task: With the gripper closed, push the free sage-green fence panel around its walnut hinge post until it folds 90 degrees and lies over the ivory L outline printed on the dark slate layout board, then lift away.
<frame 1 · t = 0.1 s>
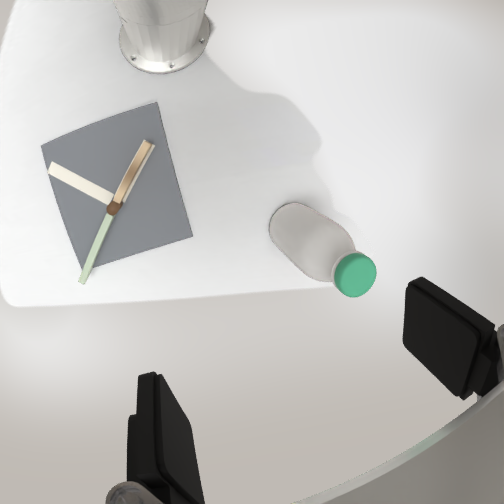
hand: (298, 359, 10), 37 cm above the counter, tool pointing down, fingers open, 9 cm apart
fence hinged panel: (96, 246, 40), point 2 cm above the counter, hinge at 0.0°
milk bottle: (291, 226, 49), on the counter
layout board: (113, 189, 41), on the counter
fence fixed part: (118, 202, 41), resting on layout board
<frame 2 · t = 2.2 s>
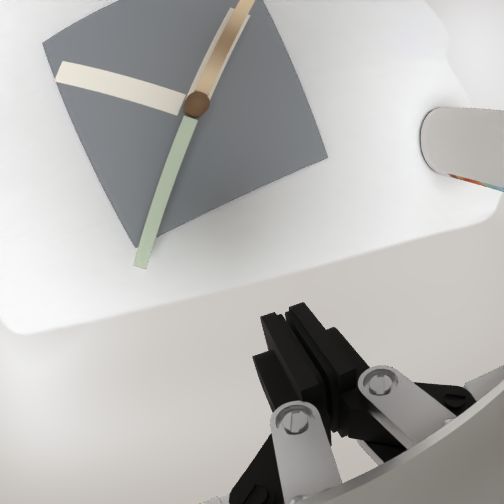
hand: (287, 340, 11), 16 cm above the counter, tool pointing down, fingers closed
fence hinged panel: (162, 191, 22), point 2 cm above the counter, hinge at 0.0°
milk bottle: (439, 140, 29), on the counter
layout board: (183, 88, 22), on the counter
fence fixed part: (193, 109, 22), resting on layout board
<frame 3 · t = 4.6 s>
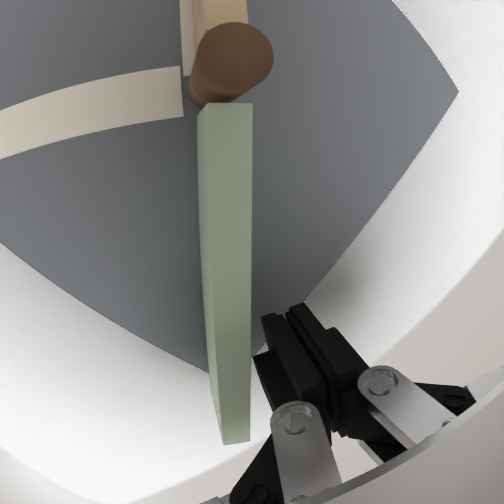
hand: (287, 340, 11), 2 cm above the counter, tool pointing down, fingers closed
fence hinged panel: (222, 296, 10), point 2 cm above the counter, hinge at -5.1°, touching gripper
layout board: (166, 57, 9), on the counter
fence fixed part: (210, 89, 10), resting on layout board
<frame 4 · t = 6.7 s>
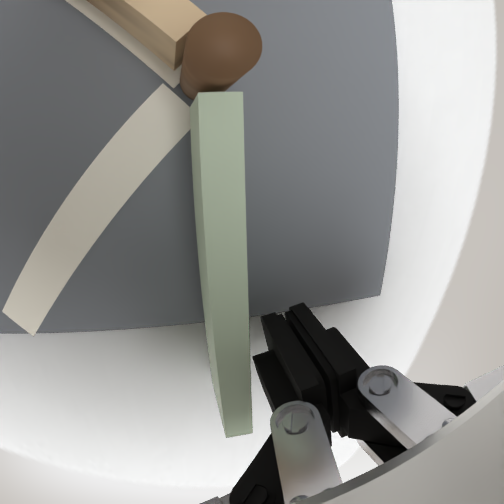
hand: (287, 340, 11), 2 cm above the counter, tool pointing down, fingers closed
fence hinged panel: (220, 287, 10), point 2 cm above the counter, hinge at -43.8°, touching gripper
layout board: (144, 84, 9), on the counter
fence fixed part: (202, 81, 10), resting on layout board
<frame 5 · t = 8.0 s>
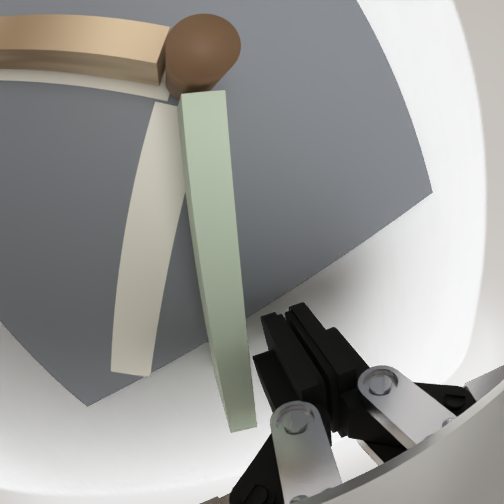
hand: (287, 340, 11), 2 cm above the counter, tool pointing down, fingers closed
fence hinged panel: (216, 283, 10), point 2 cm above the counter, hinge at -69.3°, touching gripper
layout board: (138, 111, 10), on the counter
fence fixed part: (188, 82, 10), resting on layout board
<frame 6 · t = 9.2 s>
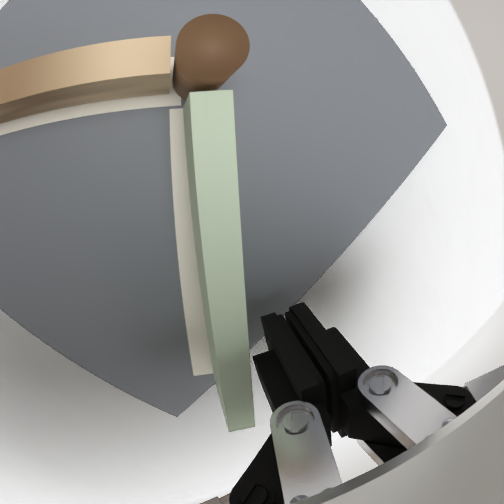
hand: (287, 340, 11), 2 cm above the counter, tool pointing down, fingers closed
fence hinged panel: (218, 281, 10), point 2 cm above the counter, hinge at -87.6°, touching gripper
layout board: (155, 122, 10), on the counter
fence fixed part: (194, 82, 10), resting on layout board
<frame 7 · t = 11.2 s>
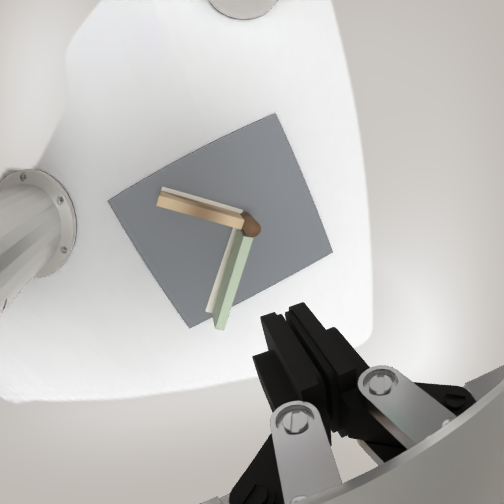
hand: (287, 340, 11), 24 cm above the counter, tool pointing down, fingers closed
fence hinged panel: (230, 280, 34), point 2 cm above the counter, hinge at -88.0°
layout board: (227, 226, 35), on the counter
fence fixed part: (243, 218, 35), resting on layout board
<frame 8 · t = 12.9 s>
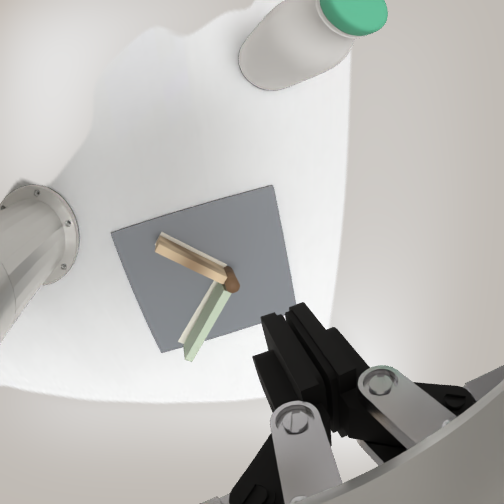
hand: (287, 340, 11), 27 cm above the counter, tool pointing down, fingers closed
fence hinged panel: (205, 321, 39), point 2 cm above the counter, hinge at -88.0°
milk bottle: (268, 62, 32), on the counter
layout board: (211, 275, 39), on the counter
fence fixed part: (226, 270, 40), resting on layout board
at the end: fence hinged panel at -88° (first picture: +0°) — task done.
